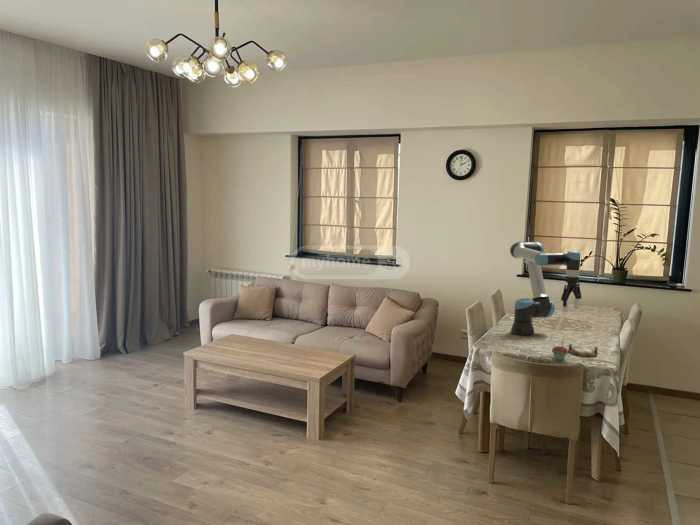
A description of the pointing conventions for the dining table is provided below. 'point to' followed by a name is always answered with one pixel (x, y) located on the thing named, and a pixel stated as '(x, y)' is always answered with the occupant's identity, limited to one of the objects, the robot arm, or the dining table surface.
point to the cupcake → (560, 352)
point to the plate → (582, 351)
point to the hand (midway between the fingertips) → (570, 310)
